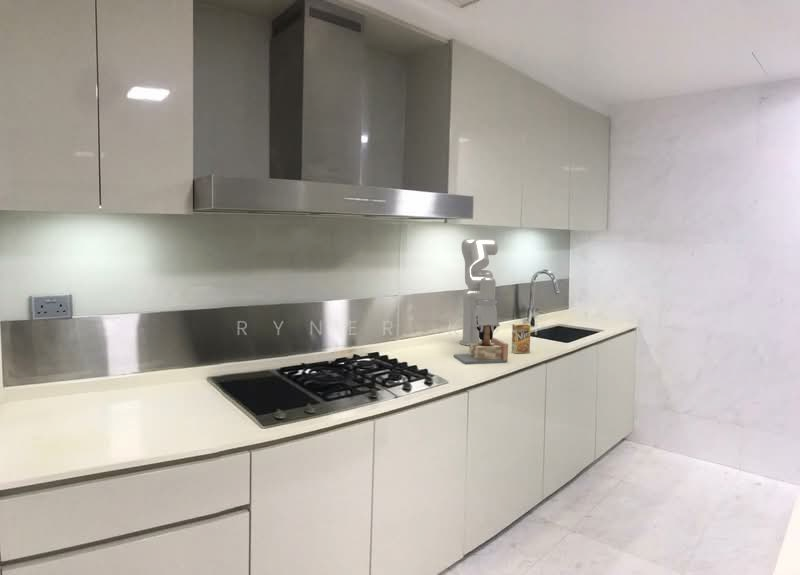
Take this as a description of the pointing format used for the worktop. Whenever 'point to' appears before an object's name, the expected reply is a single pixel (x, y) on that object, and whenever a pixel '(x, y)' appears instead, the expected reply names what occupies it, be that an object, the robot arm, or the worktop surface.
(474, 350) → the socket block
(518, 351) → the candy box
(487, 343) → the dowel
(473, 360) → the rail board
